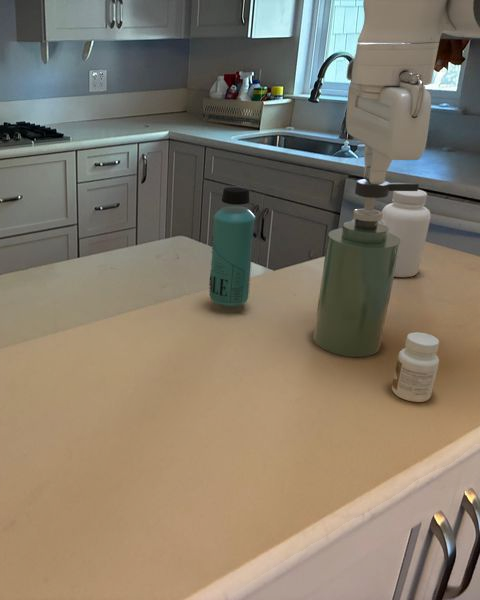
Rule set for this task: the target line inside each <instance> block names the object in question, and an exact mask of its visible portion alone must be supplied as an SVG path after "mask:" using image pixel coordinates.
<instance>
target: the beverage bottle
mask: <svg viewBox="0 0 480 600" xmlns="http://www.w3.org/2000/svg"><path fill="white" fill-rule="evenodd" d="M250 201H251V198H250V188H248V187H246V186H241V185H240V186H239V185H229V186H225V187H224V188H223V191H222V197H221V202H222V203H224V204H227V205H229V206H224V207H222V208H220V209H219V210H218V211H216V212H215V214H214V216H213V220H214V221H213V232H212V238H211V241H212V242H211V251H210V252H211V261H210V272H209V282H208V288H209V289H208V290H209V298H210V301H212V303H215V304H217V305H221V306H226V307H236V306H237V307H238V306H241V305H244V304H245V303H247V301H248V299H249V298H250V291H251V289H250V288H251V283H250V281H252V280H251V279H252V278H251V272H252V271H251V269H252V251H253V241H254V230H255V221H256V216H255V215H254V213H253V212H252V211H251V210H250V209H249V208H247V207H244V206H241V205H246V204H249V203H250ZM231 205H232V206H231ZM239 205H240V206H239Z"/></svg>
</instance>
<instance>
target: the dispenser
mask: <svg viewBox="0 0 480 600" xmlns="http://www.w3.org/2000/svg"><path fill="white" fill-rule="evenodd" d="M382 217H383V213H382V210H377V209H375V208H374V209H373V210H366V209H364V208H356V209H354V210H353V212H352V218H353V219H355V221H352V220H349V221H346V222H344V223H343V225H342V227H340V228H334V229H332V230H331V231H329V232H328V234H327V241H326V247H325V255H324V261H323V269H322V276H321V281H320V289H319V295H318V302H317V308H316V315H315V321H314V322H315V323H314V329H313V337H312V338H313V341H314V343H315V344H316V345H317V346H318V347H319V348H321V349H322V350H325V351H327V352H328V353H331V354H335V355H338V356H342V357H351V358H363V357H370V356H373V355H375V354H377V353H378V352H379V351H380V349H381V345H382V339H383V334H384V329H385V324H386V320H387V315H388V309H389V304H390V299H391V294H392V289H393V283H394V279H395V277H394V274H395V269H396V264H397V259H398V254H399V249H400V243H401V240H400V239H399V238H398V237H397V236H395V235H393V234H391V233H388V230H389V228H388V227H387V226H385V225H383V224H380V223H378V221H380V220H382Z"/></svg>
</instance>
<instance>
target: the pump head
mask: <svg viewBox="0 0 480 600" xmlns="http://www.w3.org/2000/svg"><path fill="white" fill-rule="evenodd" d="M355 183H356V184H355V190H354V193H355V195H357V196H359V197H364V198H365V200H364V206H363V209H366V210H373V209H374V210H375V204H376V199H381V198H382V199H383V198H387V197H388V196H389V193H390V192H394V191H418V190H419V187H420V184H419V183H417V182H390V181H388V180H385V181H384V183H383V184H371V183H370V182H369V181H367V180H366V179H365V178H362V179H358V180H356V182H355Z"/></svg>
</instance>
